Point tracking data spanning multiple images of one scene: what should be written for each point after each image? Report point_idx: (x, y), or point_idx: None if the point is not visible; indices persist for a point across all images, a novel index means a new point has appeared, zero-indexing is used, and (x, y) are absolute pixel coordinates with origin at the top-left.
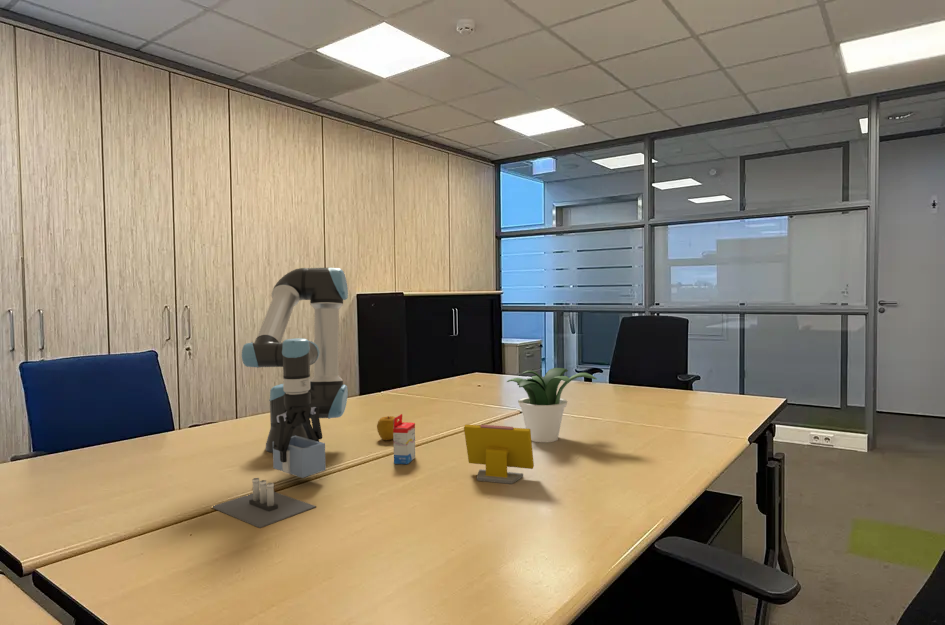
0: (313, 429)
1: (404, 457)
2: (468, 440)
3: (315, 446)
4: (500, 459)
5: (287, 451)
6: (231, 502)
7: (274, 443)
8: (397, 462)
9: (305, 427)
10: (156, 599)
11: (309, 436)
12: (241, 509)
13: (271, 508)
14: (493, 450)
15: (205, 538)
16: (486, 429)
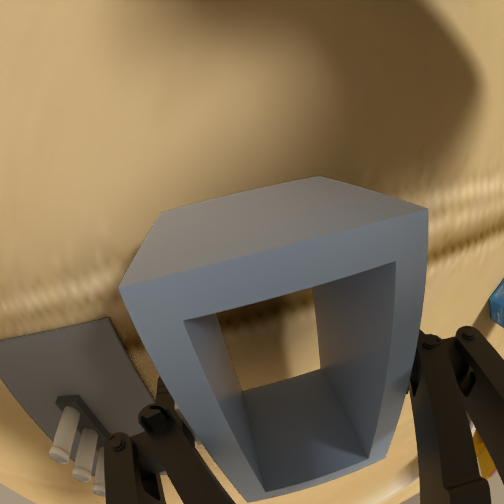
0: (484, 383)
1: (501, 322)
2: None
3: (329, 478)
4: None
5: (197, 443)
6: (14, 355)
7: (110, 475)
8: (491, 306)
9: (431, 467)
10: (22, 490)
11: (420, 394)
12: (45, 409)
13: None
14: (476, 453)
15: (17, 448)
16: (493, 468)
